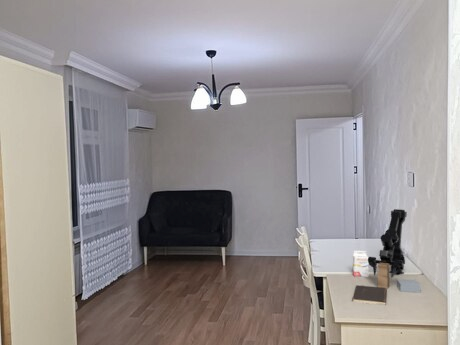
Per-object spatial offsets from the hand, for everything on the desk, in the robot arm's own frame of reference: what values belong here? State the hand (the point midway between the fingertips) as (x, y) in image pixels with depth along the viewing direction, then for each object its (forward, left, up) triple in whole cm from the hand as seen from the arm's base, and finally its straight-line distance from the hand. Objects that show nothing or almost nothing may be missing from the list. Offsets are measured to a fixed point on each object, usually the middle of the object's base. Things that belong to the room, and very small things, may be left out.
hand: (383, 276), depth 253 cm
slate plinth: (-9, +9, -7) cm, 15 cm away
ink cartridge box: (-9, -24, -7) cm, 26 cm away
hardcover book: (+17, +5, -7) cm, 19 cm away
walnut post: (-1, -1, -7) cm, 7 cm away
